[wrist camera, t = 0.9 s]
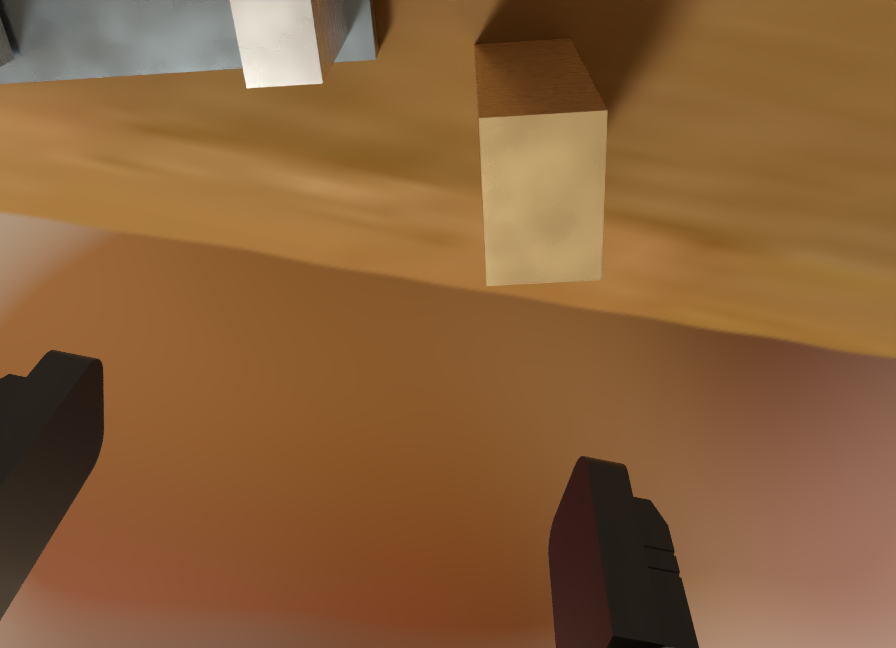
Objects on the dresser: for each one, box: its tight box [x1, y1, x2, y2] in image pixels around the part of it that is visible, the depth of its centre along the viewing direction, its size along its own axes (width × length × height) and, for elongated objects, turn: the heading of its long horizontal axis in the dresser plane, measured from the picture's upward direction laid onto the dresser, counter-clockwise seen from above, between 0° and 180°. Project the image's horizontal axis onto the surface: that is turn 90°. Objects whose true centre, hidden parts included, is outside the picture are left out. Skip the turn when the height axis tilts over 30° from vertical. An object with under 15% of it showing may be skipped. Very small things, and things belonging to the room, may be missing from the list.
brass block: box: [474, 38, 608, 286], centre depth 31 cm, size 4×6×10 cm, turn 4°
